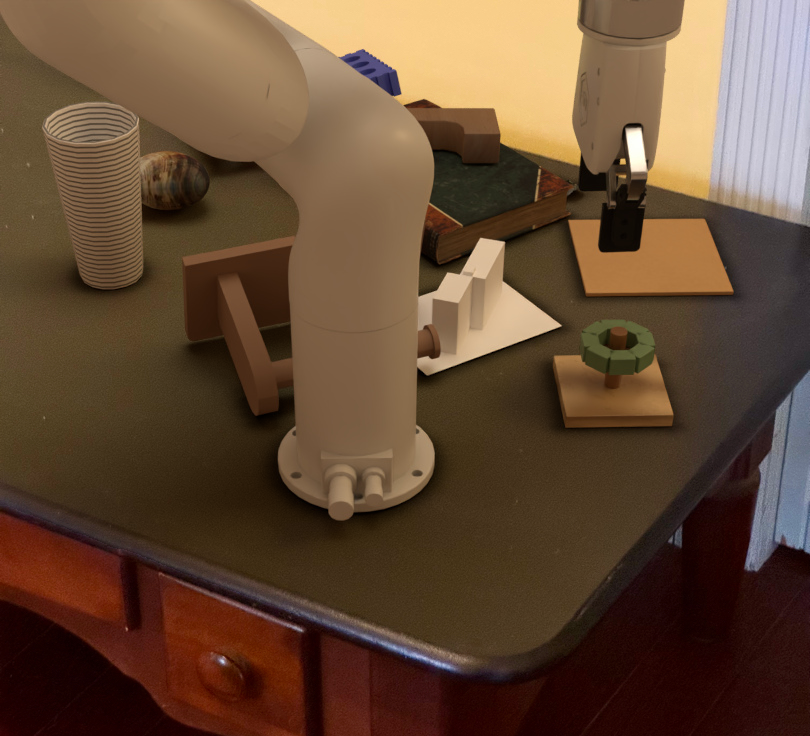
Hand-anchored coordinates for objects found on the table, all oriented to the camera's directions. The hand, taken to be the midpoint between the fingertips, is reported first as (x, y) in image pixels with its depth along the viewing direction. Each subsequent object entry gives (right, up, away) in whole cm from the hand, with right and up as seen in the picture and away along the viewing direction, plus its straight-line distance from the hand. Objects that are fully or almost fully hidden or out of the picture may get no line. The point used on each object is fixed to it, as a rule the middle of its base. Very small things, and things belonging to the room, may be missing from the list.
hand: (607, 218), depth 115 cm
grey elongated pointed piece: (-1, +11, +35) cm, 37 cm away
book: (-13, +11, +36) cm, 40 cm away
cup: (-44, 0, +23) cm, 50 cm away
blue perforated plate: (-29, +23, +41) cm, 56 cm away
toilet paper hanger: (-23, -10, +14) cm, 29 cm away
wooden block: (-6, +16, +34) cm, 38 cm away
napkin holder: (-11, -6, +17) cm, 21 cm away
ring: (+2, -10, +6) cm, 12 cm away
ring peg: (+2, -13, +9) cm, 16 cm away
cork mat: (+8, +2, +26) cm, 28 cm away
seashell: (-38, +12, +34) cm, 53 cm away
